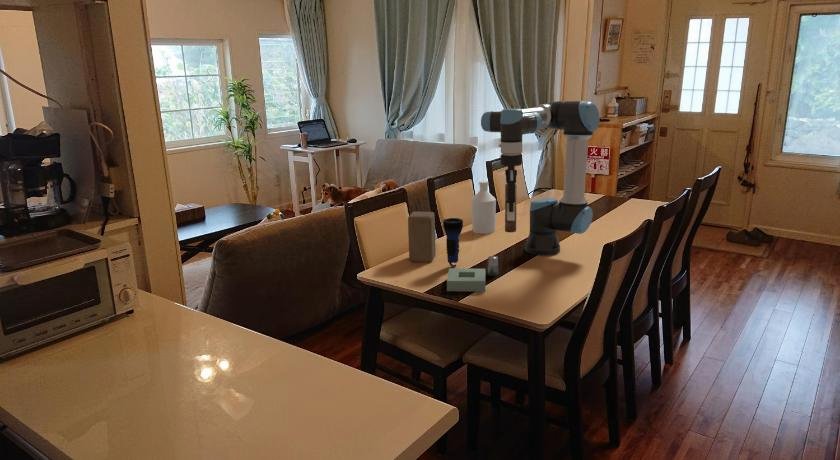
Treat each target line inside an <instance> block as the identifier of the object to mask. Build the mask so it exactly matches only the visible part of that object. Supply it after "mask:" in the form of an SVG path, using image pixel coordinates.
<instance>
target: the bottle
mask: <svg viewBox="0 0 840 460" xmlns="http://www.w3.org/2000/svg"><path fill="white" fill-rule="evenodd" d="M478 185H479V191H478V192H476V194H475V196H473V197H472V198H471V221H472V222H471V223H472V224H471V225H472V227H471V228H472V233H474V232H475V233H474V234H478V233H479V235H487V234H488V233H490V234H494V233H496V213H497V212H496V210H497V209H496V208H497V205H496V204H497V199H496V198H495V196H493V194H491V193H490V191H489V190H488V189H489V181H488V180H480V181H478ZM488 235H489V234H488Z"/></svg>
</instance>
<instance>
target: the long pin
mask: <svg viewBox="0 0 840 460" xmlns="http://www.w3.org/2000/svg"><path fill="white" fill-rule="evenodd" d="M517 191H518V190H517V184H516V183H515V221H507V203H506V201H507V200H508V184H507V183H505V184H504V232H505V233H516V232H517Z"/></svg>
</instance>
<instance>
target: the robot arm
mask: <svg viewBox="0 0 840 460" xmlns="http://www.w3.org/2000/svg"><path fill="white" fill-rule="evenodd" d="M600 120H601V118H600V111H599V109H598V106H597V104H595V103H594V102H593V101H585V100H581V101H580V100H578V101H577V100H575V101H573V100H569V101H568V100H567V101H566V100H559V101H551V102H546V103H541V104H537V105H535V106H534V107H528V108H503V109H502V110H501V111H493V110H491V111H485V112H484V113H483V114H482V115H481V117H480V126H481V128H482V130H483V131H484V132H488V133H489V132H490V133H500V144H498V148H500V153H501V154H500V155H499V158H500V166H504V167H507V168H506V169H505V170H504V171H505V173H504V174H505V182H506V183H505V184H508V200H507V201H506V203H507V221H515V184H516V183H517V175H518V170H517V169H515V168H516V167H519V166H522V164H523V155H522V153H523V135H528V134H534V133H536V132H538V131H540V130H541V129H552V130H557V131H558V130H561V131H563V133H562V134H563V136H564V137H565V139H566V144H565V145H566V146H565V147H566V149H565V163H564V164H565V165H564V180H563V194H562V195H563V196H562V197H561V198H560V199H559V200H558V198H555V197H545V198H538V199H534V200H532V201H531V202H530V205H529V234H528V237H527V239H526V241H525V242H526V243H525V245H524V250H525V252H526V253H528V254H531V255H535V256H536V255H537V256H552V255H557V254H559V253H560V252H561V244H560V242H559V238H558V235H557V231H560V232H565V233H571V234H579V235H580V234H584V233H586V232H587V230H588V229H589V227H590V225H591V223H592V220H593V214H594V213H593V209H592V208H591V207H590V206H588V204H589V201H588V200H587V198H586V197H585V192H586V181H587V180H586V179H587V177H586V176H587V166H588V153H589V152H588V150H589V140H590V139H591V138H592V137H593V135H594V132H596V131H597V130H598V128H599V126H600Z"/></svg>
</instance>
